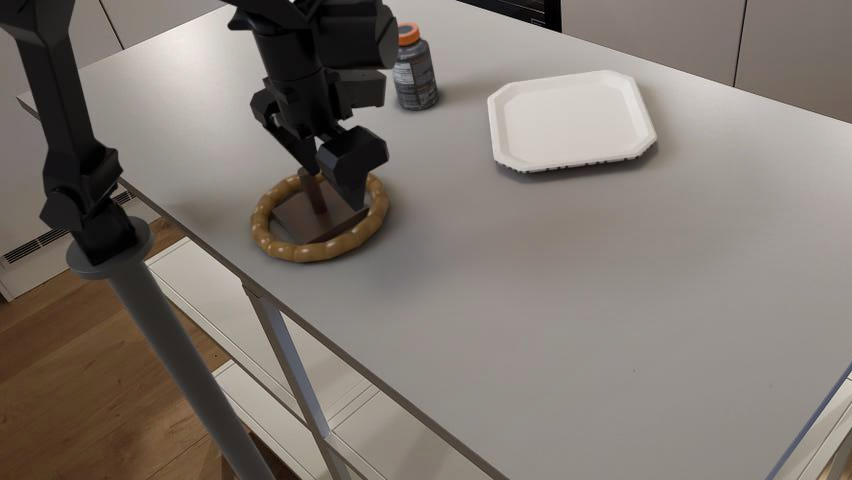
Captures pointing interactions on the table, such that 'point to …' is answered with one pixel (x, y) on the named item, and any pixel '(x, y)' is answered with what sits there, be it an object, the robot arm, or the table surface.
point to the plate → (569, 121)
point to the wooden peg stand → (316, 212)
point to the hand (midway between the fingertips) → (336, 191)
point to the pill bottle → (414, 70)
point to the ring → (318, 249)
